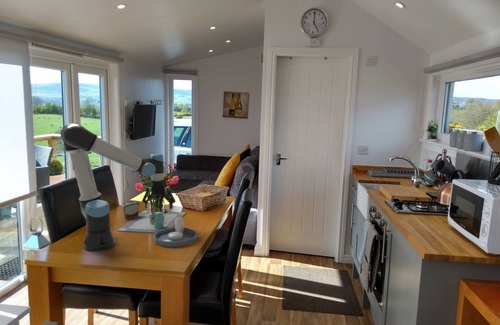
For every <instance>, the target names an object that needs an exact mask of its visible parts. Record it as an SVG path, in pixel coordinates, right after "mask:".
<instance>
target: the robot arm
mask: <svg viewBox="0 0 500 325" xmlns="http://www.w3.org/2000/svg"><path fill="white" fill-rule="evenodd" d="M98 136H99V135H98V134H95V133H93V132H92V131H90V130H88V129H87V128H86V127H84V126H83V125H81V124H79V123H76V122H72V123H71V122H69V123H67V124H66V125H64V126H63V127H62V129H61V130H60V138H61V140H62V142H63V146H64V149H65V152H66V153H69V156H70V159H71V163H72V168H73V170H74V175H75V178H76V181H77V186H78V188H79V189H78V190H79V194H80V196H79V197H78V201H79V204H80V212H81V214H82V215H83V217H84V219H85V222H86V235H85V237H84V241H83V249H85V250H86V251H87V250H88V251H93V252H94V251H97V252H98V251H104V250H108V249H110V248H112V247H113V246H114V245H115V244H116V242H115V238H114V235H113V233H112V230H111V214H110V213H111V212H110V210H111V208H110V204H109V202H108V201H107V200H103V196H102V193H101V192H99V191H98V188H97V184H96V181H95V177H94V171H93V170H92V164H91V161H90V156H89V153H90V152H92V153H94V154H97V155H99V156H101V157H102V158H105V159H108V160H109V161H112V162H114V163H117V164H119V165H121V166H123V167H126V168H127V169H129V171H130V172H131V173H139V174H141V175H143V176H144V177H150V178H151V186H147V187H146V189H145V190H146V192H145V194H144V195H143V198H142V200H141V202H142V203H144V204H145V206H144V207H145V209H146V214H147V215H149V214H150V213H151V207H150V204H151V203H150V202H149V201H150V200H151V199H152V198H153V196H154V195H155V196H162V197H163V198H164V199H165V201H167V202H168V215H171V214H172V209H173V208H174V205H173V204H175V203H176V202H177V201H176V198H175V197H174V196H173V195H174V194H173V193H172V191H171V187H170V186H168V187H165V171H164V170H165V167H164V166H165V164H164V154H162V153H151V154H150V157H146V158H145V157H144V158H142V157H140V156H137V155H135V154H133V153H130V152H129V151H126V150H124V149H122V148H120V147H118V146H116V145H114V144H111V143H110V142H108V141H105V140H103V139H102V138H99V137H98ZM150 191H152V193H151V194H150V195H149V193H150ZM148 195H149V196H148Z"/></svg>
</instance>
